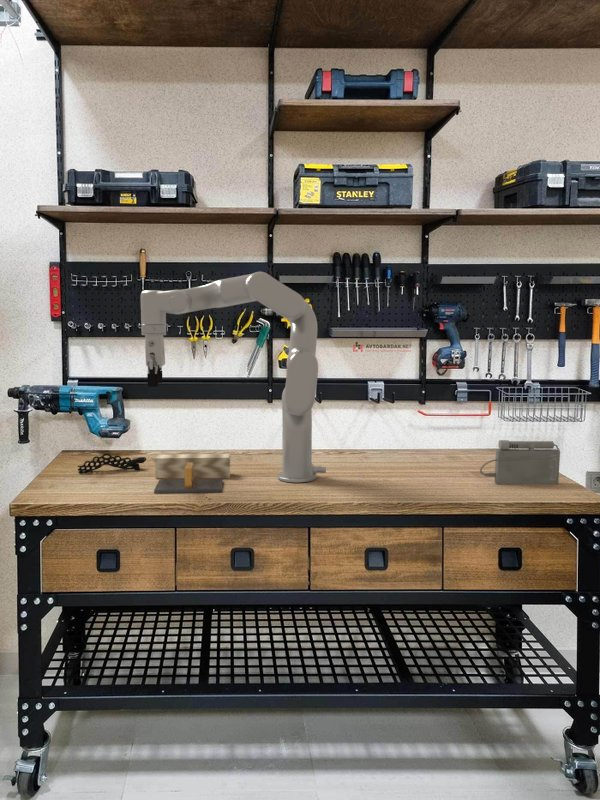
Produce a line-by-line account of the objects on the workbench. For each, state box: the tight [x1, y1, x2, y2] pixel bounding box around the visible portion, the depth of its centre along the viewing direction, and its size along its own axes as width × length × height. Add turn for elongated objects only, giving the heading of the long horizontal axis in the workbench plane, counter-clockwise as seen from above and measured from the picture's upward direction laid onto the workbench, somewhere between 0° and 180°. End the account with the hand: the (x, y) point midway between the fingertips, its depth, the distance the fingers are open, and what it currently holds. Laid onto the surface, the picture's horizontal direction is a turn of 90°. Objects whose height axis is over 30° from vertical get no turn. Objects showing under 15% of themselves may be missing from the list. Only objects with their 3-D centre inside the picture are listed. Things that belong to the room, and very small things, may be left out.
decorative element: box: [77, 453, 147, 474], centre depth 231 cm, size 22×5×6 cm, turn 106°
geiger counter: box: [479, 439, 561, 485], centre depth 215 cm, size 14×6×25 cm
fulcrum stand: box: [153, 462, 224, 494], centre depth 210 cm, size 20×12×7 cm, turn 94°
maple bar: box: [154, 453, 231, 479], centre depth 224 cm, size 24×6×7 cm, turn 93°
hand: (155, 384), depth 214 cm, fingers open, 9 cm apart
